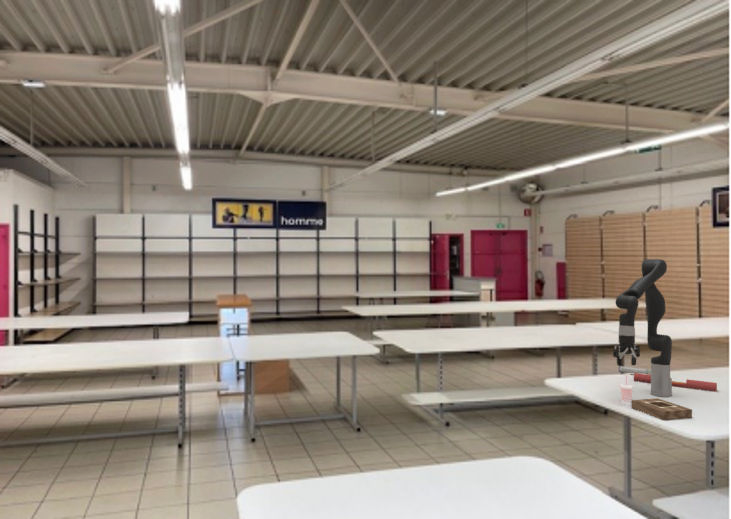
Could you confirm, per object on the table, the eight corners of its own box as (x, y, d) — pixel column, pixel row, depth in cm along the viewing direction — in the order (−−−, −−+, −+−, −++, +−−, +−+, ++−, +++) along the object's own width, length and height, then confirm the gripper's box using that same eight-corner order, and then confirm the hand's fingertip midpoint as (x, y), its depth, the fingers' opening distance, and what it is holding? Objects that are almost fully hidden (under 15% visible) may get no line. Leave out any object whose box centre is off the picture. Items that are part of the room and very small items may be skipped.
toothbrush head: (622, 365, 341) (658, 367, 319) (623, 375, 340) (659, 378, 318) (617, 366, 339) (652, 368, 316) (618, 376, 338) (654, 379, 315)
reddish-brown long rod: (716, 390, 291) (716, 382, 291) (716, 392, 287) (716, 383, 287) (634, 380, 316) (634, 372, 316) (633, 381, 312) (633, 373, 312)
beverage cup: (635, 404, 261) (635, 377, 261) (626, 405, 259) (626, 378, 259) (626, 401, 266) (626, 374, 266) (617, 402, 265) (617, 375, 265)
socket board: (657, 406, 258) (657, 397, 258) (692, 418, 238) (692, 409, 238) (631, 408, 254) (631, 399, 254) (663, 420, 234) (663, 411, 235)
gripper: (632, 332, 268) (632, 363, 268) (609, 333, 265) (609, 364, 265) (643, 334, 261) (643, 366, 261) (620, 335, 257) (620, 367, 257)
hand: (626, 365), depth 263 cm, fingers open, 8 cm apart
